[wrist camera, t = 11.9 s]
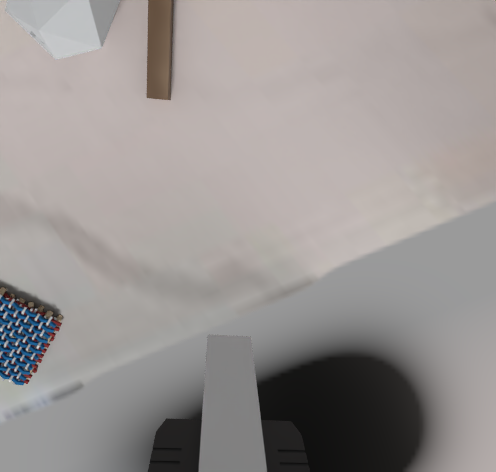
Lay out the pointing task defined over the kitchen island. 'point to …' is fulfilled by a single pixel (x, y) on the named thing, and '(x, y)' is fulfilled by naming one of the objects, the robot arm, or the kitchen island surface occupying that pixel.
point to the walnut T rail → (159, 49)
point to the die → (65, 23)
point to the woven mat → (23, 337)
